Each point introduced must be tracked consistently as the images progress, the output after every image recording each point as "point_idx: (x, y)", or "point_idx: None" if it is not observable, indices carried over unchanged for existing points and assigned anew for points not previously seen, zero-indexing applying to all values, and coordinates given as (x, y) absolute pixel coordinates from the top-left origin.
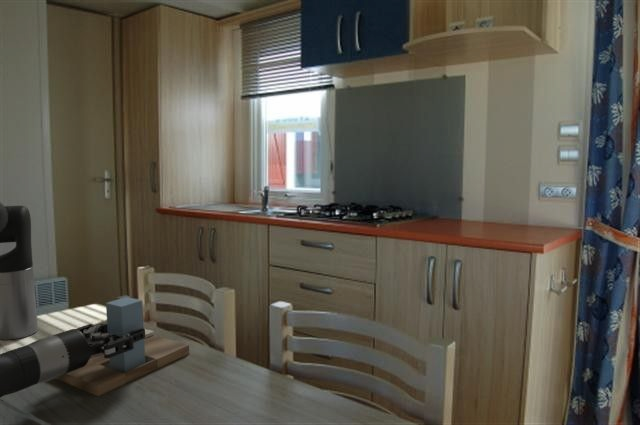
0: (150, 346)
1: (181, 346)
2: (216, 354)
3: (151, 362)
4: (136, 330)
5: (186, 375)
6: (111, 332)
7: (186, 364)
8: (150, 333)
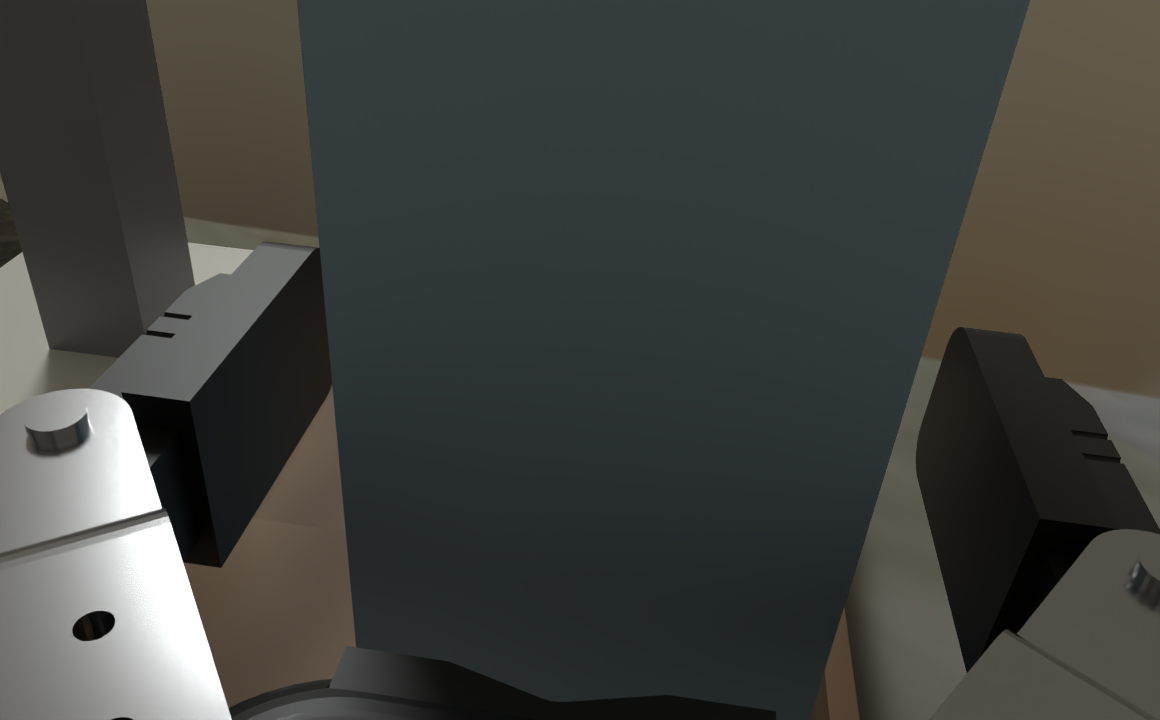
0: None
1: None
2: None
3: (852, 672)
4: (1045, 407)
5: None
6: (465, 515)
7: (922, 531)
8: None
